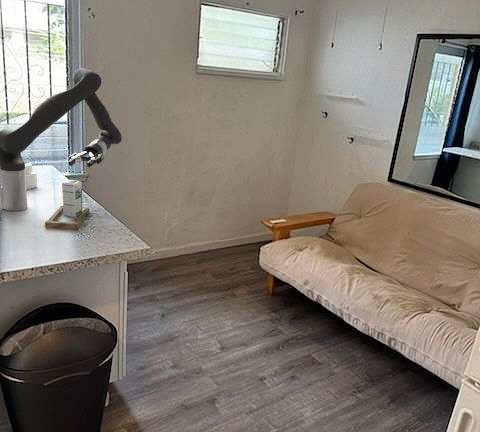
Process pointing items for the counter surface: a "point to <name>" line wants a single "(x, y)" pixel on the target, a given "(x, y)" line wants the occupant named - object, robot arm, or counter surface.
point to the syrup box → (72, 197)
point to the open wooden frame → (67, 225)
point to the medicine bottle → (30, 176)
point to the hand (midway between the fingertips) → (78, 164)
